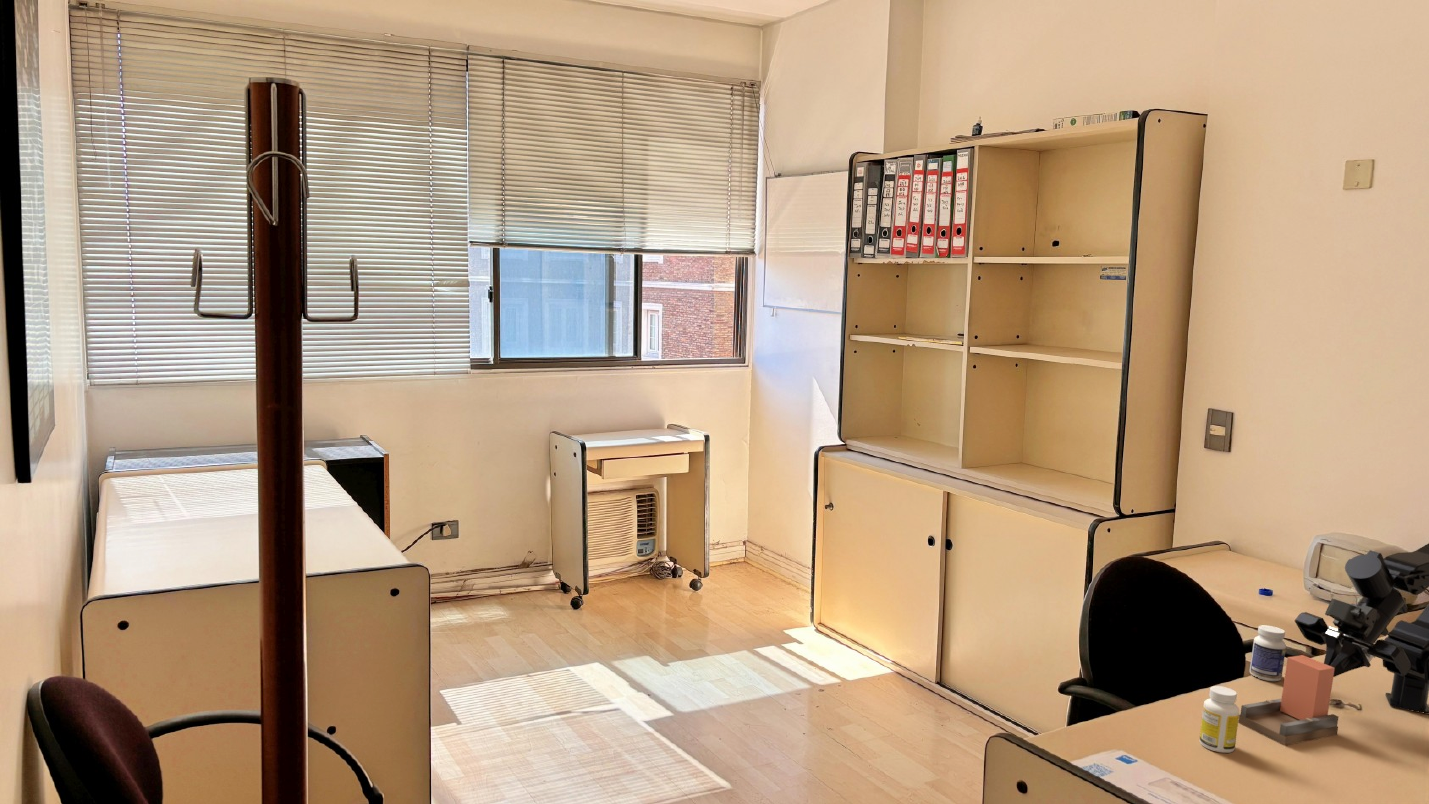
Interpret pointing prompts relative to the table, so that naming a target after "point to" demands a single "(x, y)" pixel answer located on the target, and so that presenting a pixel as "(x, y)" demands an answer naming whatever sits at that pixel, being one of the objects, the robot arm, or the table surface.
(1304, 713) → the pink upright rectangular block
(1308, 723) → the rail housing
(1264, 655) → the pill bottle
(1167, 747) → the table surface
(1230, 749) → the supplement bottle
